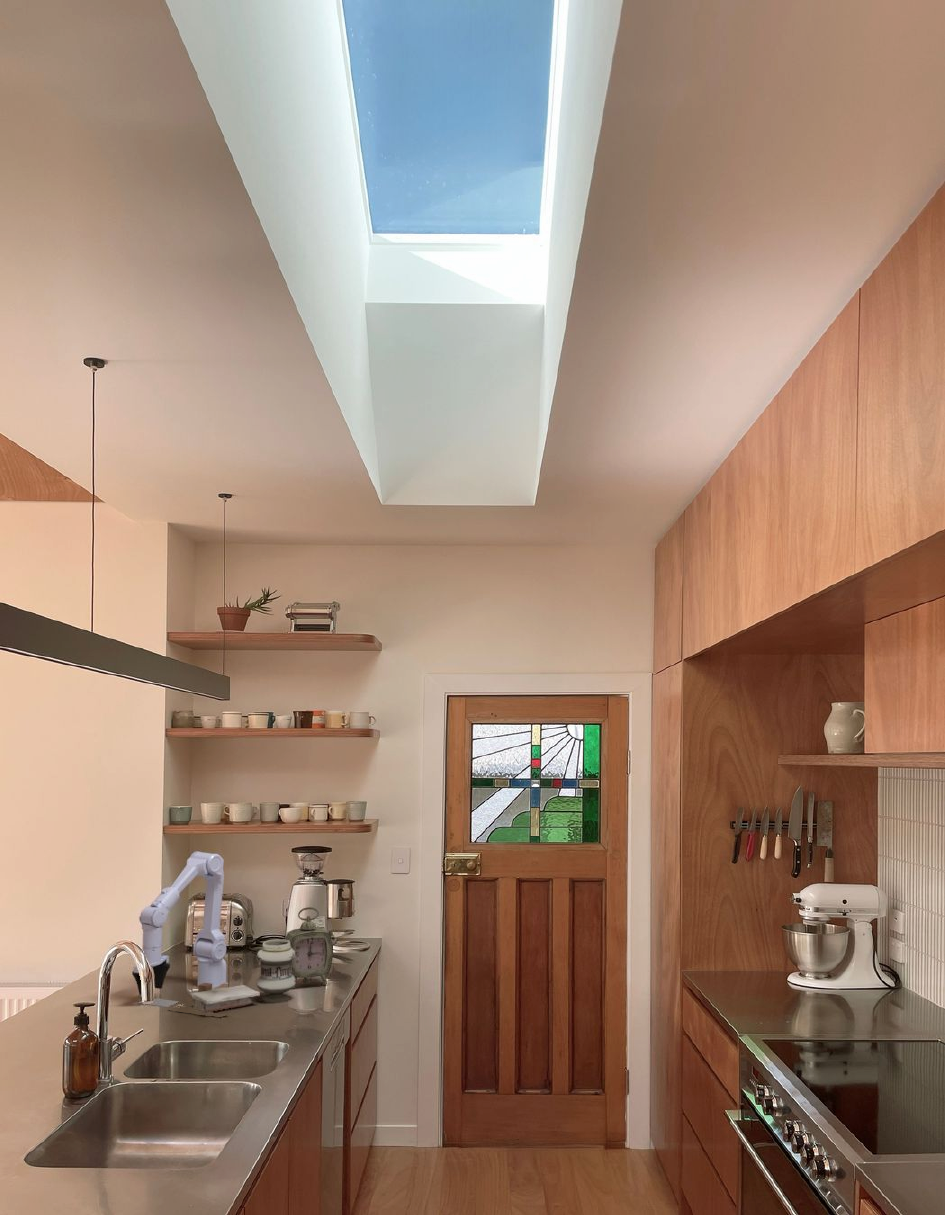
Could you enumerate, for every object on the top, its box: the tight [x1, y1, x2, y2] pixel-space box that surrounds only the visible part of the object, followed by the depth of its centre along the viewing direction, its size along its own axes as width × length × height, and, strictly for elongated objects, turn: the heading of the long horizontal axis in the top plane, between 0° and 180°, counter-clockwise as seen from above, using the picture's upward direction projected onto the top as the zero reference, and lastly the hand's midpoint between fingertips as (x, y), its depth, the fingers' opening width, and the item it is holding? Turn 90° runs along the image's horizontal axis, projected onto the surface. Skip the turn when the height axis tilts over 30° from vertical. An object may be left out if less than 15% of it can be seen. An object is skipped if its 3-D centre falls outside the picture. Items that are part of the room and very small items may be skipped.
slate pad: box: [136, 997, 180, 1008], centre depth 328 cm, size 6×11×1 cm, turn 69°
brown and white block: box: [197, 983, 213, 992], centre depth 330 cm, size 9×4×5 cm, turn 69°
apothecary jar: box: [256, 938, 297, 1004], centre depth 333 cm, size 12×12×18 cm
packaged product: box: [191, 984, 261, 1013], centre depth 324 cm, size 18×5×10 cm
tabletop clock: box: [284, 906, 333, 989], centre depth 352 cm, size 14×9×25 cm, turn 114°
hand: (150, 991), depth 330 cm, fingers open, 7 cm apart
